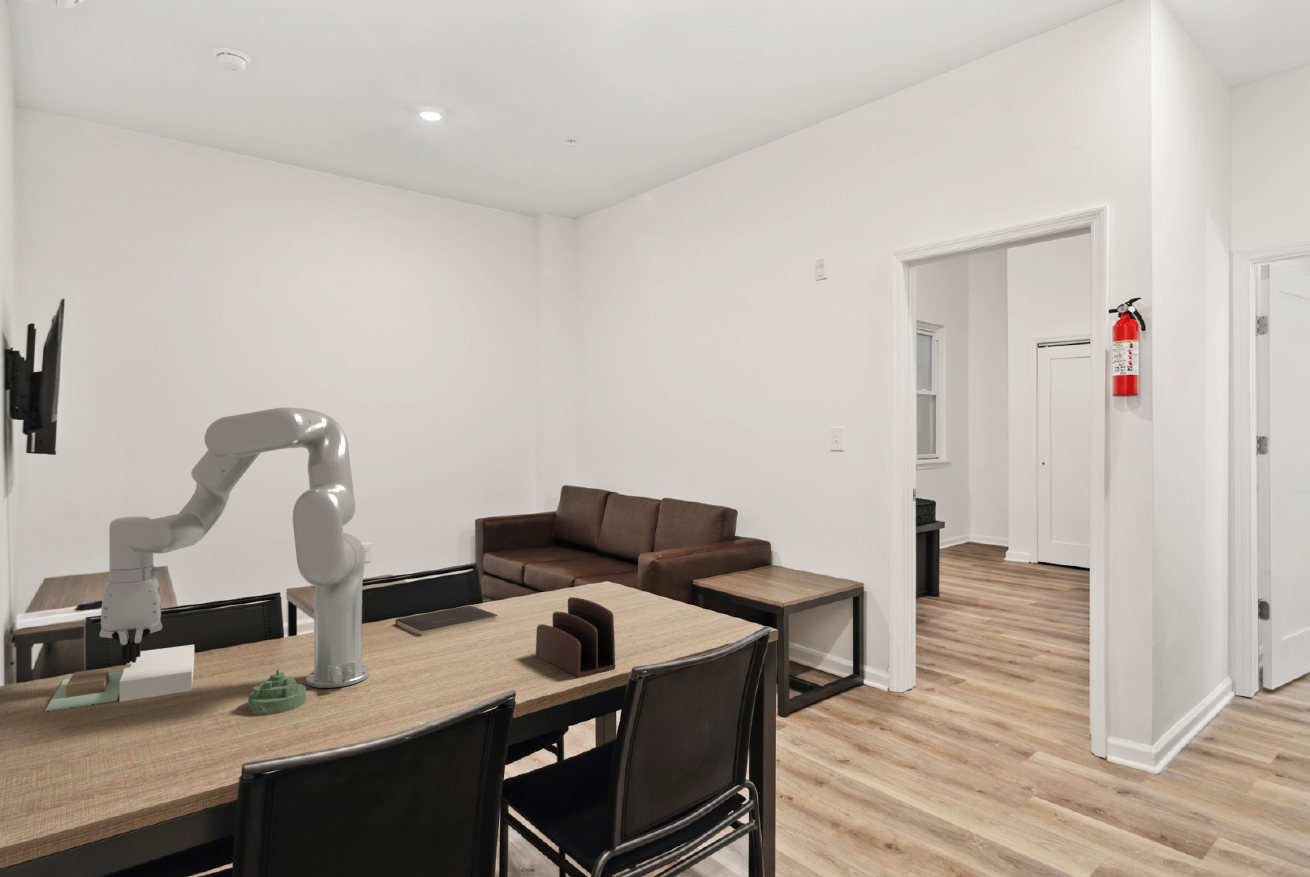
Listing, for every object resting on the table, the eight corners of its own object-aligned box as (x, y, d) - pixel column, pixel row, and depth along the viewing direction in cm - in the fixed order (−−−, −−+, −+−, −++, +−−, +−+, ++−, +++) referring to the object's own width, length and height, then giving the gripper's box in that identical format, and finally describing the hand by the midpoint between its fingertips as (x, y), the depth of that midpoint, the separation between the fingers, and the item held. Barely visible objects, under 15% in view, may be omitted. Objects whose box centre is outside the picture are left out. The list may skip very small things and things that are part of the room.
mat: (116, 700, 141) (116, 698, 141) (45, 712, 135) (45, 710, 135) (127, 672, 158) (127, 670, 158) (64, 681, 152) (64, 679, 152)
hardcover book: (497, 622, 203) (497, 614, 203) (421, 638, 187) (421, 629, 187) (469, 612, 214) (469, 605, 214) (395, 626, 198) (395, 618, 198)
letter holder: (570, 649, 177) (570, 592, 177) (615, 670, 162) (616, 608, 162) (535, 656, 171) (535, 598, 171) (578, 679, 155) (578, 615, 155)
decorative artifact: (315, 696, 145) (267, 695, 145) (315, 662, 145) (267, 661, 145) (288, 716, 135) (236, 715, 135) (288, 679, 135) (237, 678, 135)
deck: (191, 690, 147) (191, 671, 147) (119, 702, 141) (119, 682, 141) (194, 661, 166) (194, 644, 166) (130, 670, 159) (130, 652, 159)
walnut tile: (66, 685, 142) (66, 697, 142) (103, 680, 145) (103, 692, 145) (74, 672, 149) (74, 684, 149) (110, 667, 152) (110, 679, 152)
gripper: (174, 569, 158) (174, 651, 158) (89, 575, 150) (89, 662, 150) (173, 574, 151) (173, 660, 151) (84, 582, 143) (84, 672, 143)
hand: (131, 661), depth 151 cm, fingers closed
